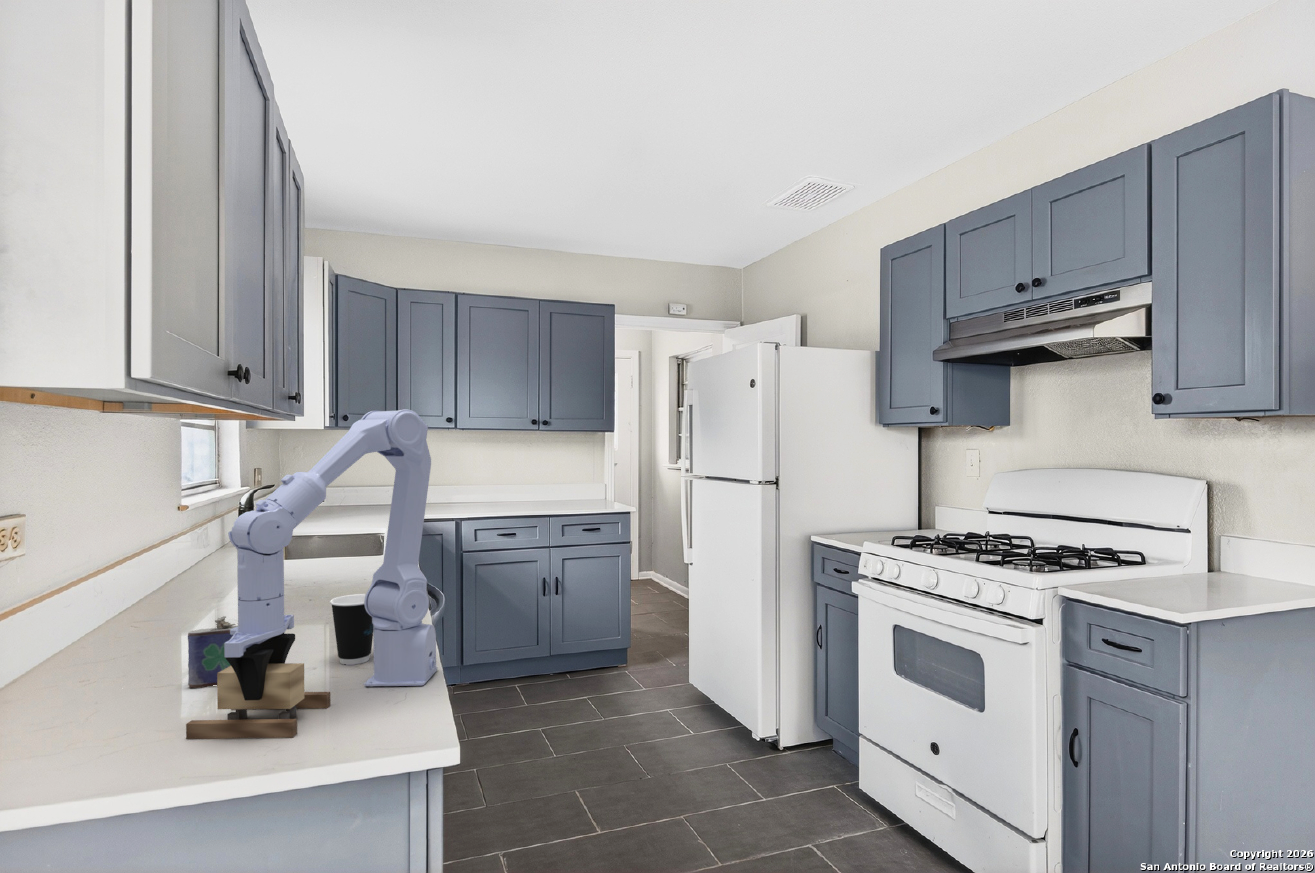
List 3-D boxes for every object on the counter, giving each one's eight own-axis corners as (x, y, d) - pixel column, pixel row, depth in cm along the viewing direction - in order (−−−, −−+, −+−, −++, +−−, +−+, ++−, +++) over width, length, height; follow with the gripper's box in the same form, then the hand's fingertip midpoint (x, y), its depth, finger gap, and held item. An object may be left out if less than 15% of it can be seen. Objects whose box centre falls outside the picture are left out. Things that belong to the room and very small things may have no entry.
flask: (186, 689, 114) (186, 622, 114) (191, 683, 117) (191, 617, 117) (252, 682, 117) (251, 616, 117) (255, 677, 120) (255, 612, 120)
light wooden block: (304, 698, 103) (304, 663, 103) (290, 708, 99) (289, 672, 99) (234, 698, 103) (234, 663, 103) (217, 709, 99) (217, 672, 99)
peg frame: (330, 705, 107) (330, 691, 107) (292, 737, 96) (292, 722, 96) (235, 706, 107) (235, 692, 107) (186, 738, 95) (186, 723, 95)
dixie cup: (383, 662, 127) (382, 599, 127) (334, 670, 123) (334, 606, 123) (373, 651, 134) (372, 591, 134) (326, 658, 129) (326, 597, 129)
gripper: (260, 585, 108) (261, 676, 108) (200, 609, 94) (201, 713, 94) (307, 585, 108) (308, 675, 108) (255, 608, 94) (256, 712, 94)
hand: (262, 693), depth 101 cm, fingers closed on light wooden block, 4 cm apart
